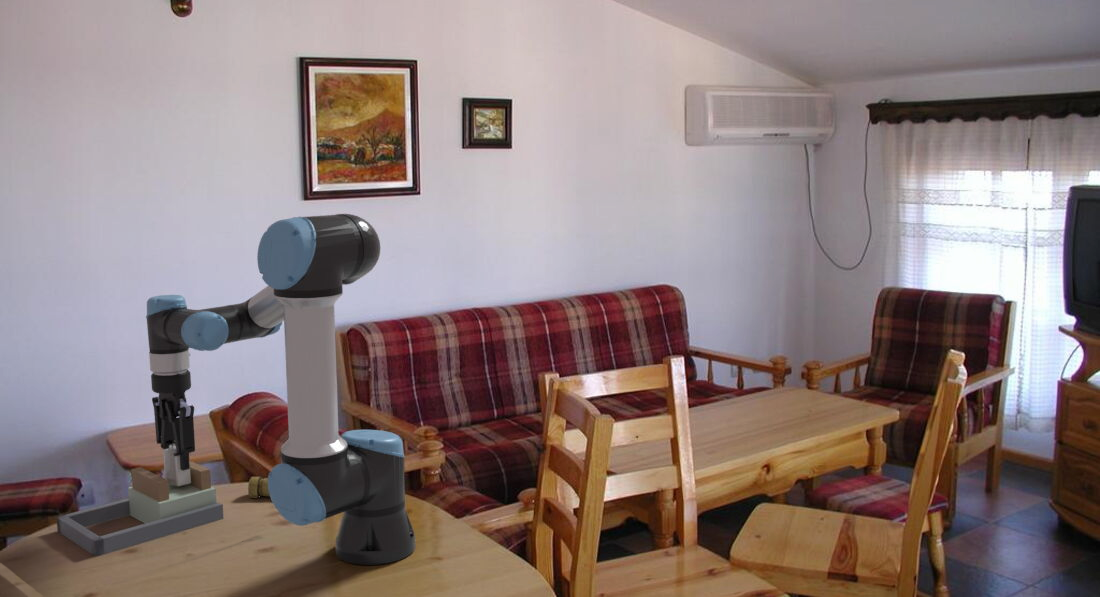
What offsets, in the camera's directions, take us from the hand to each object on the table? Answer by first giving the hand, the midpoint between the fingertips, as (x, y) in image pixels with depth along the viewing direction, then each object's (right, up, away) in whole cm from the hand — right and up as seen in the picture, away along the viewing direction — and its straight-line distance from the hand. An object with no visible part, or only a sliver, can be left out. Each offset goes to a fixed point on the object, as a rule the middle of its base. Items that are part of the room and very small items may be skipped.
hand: (177, 481), depth 208 cm
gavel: (+16, -5, +23) cm, 28 cm away
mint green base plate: (-1, -7, 0) cm, 7 cm away
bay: (-6, -9, -4) cm, 11 cm away
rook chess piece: (0, -1, 0) cm, 0 cm away
